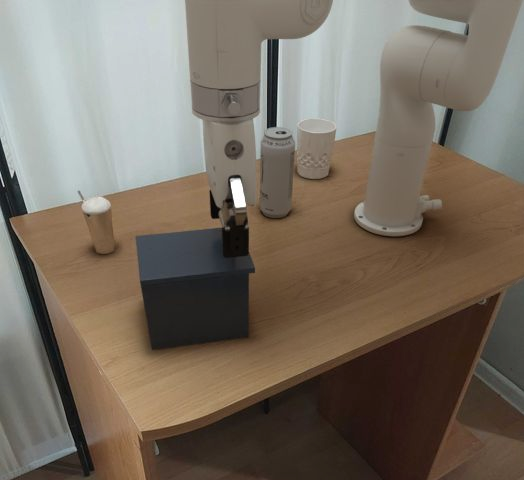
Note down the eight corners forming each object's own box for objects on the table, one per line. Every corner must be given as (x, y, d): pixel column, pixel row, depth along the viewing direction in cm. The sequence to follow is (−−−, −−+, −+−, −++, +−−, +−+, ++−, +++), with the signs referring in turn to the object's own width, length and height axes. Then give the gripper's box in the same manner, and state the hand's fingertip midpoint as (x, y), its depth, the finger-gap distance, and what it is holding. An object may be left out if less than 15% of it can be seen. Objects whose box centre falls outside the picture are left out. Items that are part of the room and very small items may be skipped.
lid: (239, 230, 76) (239, 195, 72) (255, 273, 68) (255, 235, 65) (136, 241, 73) (130, 204, 70) (140, 286, 66) (134, 248, 62)
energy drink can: (258, 204, 104) (259, 125, 94) (289, 203, 104) (293, 125, 94) (260, 219, 100) (262, 139, 89) (292, 219, 100) (297, 139, 90)
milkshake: (99, 238, 94) (87, 184, 87) (124, 246, 92) (114, 192, 85) (82, 251, 91) (68, 196, 84) (107, 259, 89) (95, 204, 82)
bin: (235, 292, 83) (233, 231, 76) (248, 337, 76) (249, 273, 68) (146, 303, 81) (136, 241, 73) (151, 350, 73) (140, 286, 66)
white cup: (329, 182, 111) (334, 134, 105) (291, 178, 112) (294, 130, 106) (333, 166, 117) (338, 120, 110) (297, 163, 118) (300, 116, 111)
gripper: (278, 124, 53) (272, 269, 64) (244, 72, 65) (244, 202, 77) (202, 128, 51) (210, 276, 63) (182, 74, 64) (191, 206, 75)
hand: (228, 235), depth 70 cm, fingers open, 9 cm apart
